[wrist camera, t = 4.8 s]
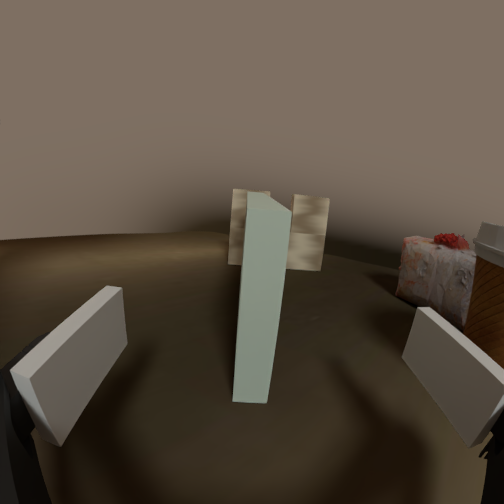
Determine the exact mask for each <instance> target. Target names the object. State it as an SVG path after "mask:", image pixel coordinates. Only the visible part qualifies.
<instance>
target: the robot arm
mask: <svg viewBox="0 0 504 504" xmlns="http://www.w3.org/2000/svg"><path fill="white" fill-rule="evenodd" d="M127 344H128V343H127V335H126V326H125V317H124V305H123V292H122V288H120V287H113V286H106V287H104V288H103V289H102V290H101V291H100V292H98V293H97V294H96V295H95V296H93V297H92V298H91V299H90V300H89V301H87V302H86V303H85V304H84V305H82V306H81V307H80V308H79V309H78V310H76V311H75V312H74V313H73V314H72V315H71V316H69V317H68V318H67V319H66V320H65V321H64V322H62V323H61V324H60V325H59V326H58V327H57V328H55V329H54V330H53V331H52V332H51V333H50V332H47V333H45V334H43V335H41V336H39V337H37V338H36V339H34V340H33V341H32V342H31V343H30V344H29V346H26V347H25V348H24V349H23V350H22V352H20V353H18V354H17V355H16V356H15V357H14V358H13V359H12V360H11V361H10V362H9V363H7V364H6V365H5V366H4V367H3V368H2V369H1V370H0V504H52V503H51V500H50V498H49V495H48V492H47V489H46V485H45V482H44V479H43V476H42V472H41V468H40V465H39V461H38V457H37V453H36V448H35V444H34V440H33V438H32V436H31V434H30V433H31V432H32V430H33V429H34V428H35V427H36V429H37V431H38V433H39V435H40V437H41V438H42V439H43V440H45V441H47V442H49V443H52V444H54V445H56V446H59V447H61V446H62V444H63V443H64V441H65V439H66V438H67V436H68V434H69V433H70V431H71V429H72V428H73V426H74V425H75V423H76V421H77V420H78V418H79V416H80V415H81V413H82V412H83V410H84V409H85V407H86V405H87V404H88V402H89V401H90V399H91V398H92V396H93V394H94V393H95V391H96V390H97V388H98V387H99V385H100V384H101V382H102V381H103V379H104V378H105V376H106V375H107V373H108V372H109V370H110V369H111V367H112V366H113V364H114V363H115V361H116V360H117V358H118V357H119V355H120V354H121V352H122V351H123V349H124V348H125V346H126V345H127ZM402 359H403V360H404V361H405V363H406V364H407V365H408V366H409V368H410V369H411V370H412V372H413V373H414V374H415V375H416V377H417V378H418V379H419V381H420V382H421V383H422V385H423V386H424V387H425V389H426V390H427V391H428V393H429V394H430V395H431V397H432V398H433V399H434V401H435V402H436V403H437V405H438V406H439V407H440V409H441V410H442V412H443V413H444V414H445V416H446V417H447V419H448V420H449V421H450V423H451V424H452V426H453V427H454V428H455V430H456V431H457V433H458V434H459V435H460V437H461V438H462V440H463V441H464V443H465V444H466V446H467V447H468V449H469V448H471V447H473V446H476V445H478V444H480V443H482V442H483V440H484V439H485V437H486V436H487V435H488V433H489V432H490V431H491V432H492V433H493V437H492V438H491V439H490V441H489V442H488V443H487V445H486V446H485V447H484V449H483V450H482V451H481V453H480V455H479V457H480V458H481V457H482V455H483V454H484V453H485V452H487V451H488V453H487V455H486V456H485V457H484V459H487V468H486V476H485V483H484V489H483V494H482V500H481V504H504V369H503V368H501V367H500V366H499V365H498V364H497V363H496V362H495V361H494V360H492V359H491V358H490V357H489V356H488V355H487V354H486V353H484V352H483V351H482V350H481V349H480V348H479V347H478V346H476V345H475V344H474V343H473V342H472V341H470V340H469V339H468V338H467V337H466V336H465V335H463V334H462V333H461V332H460V331H458V330H457V329H456V328H455V327H454V326H452V325H451V324H450V323H449V322H447V321H446V320H445V319H444V318H442V317H441V316H440V315H439V314H437V313H436V312H435V311H434V310H432V309H431V308H430V307H417V310H416V314H415V317H414V321H413V324H412V327H411V331H410V334H409V337H408V340H407V343H406V346H405V349H404V352H403V355H402Z"/></svg>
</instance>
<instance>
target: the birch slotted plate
mask: <svg viewBox="0 0 504 504" xmlns="http://www.w3.org/2000/svg"><path fill="white" fill-rule="evenodd" d="M247 191H249V192H261V193H265V194H266V195H268V196H269V197H270V192H267V191H255V190H243V189H233V200H232V213H231V227H230V240H229V255H228V264H231V265H242V252H243V239H244V227H245V215H246V202H247ZM329 201H330V200H329V199H328V198H323V197H315V196H306V195H297V194H292V200H291V210H290V211H291V212H292V217H291V226H290V235H289V244H288V253H287V262H286V269H298V270H312V271H320V270H321V264H322V257H323V249H324V242H325V235H326V226H327V218H328V209H329Z"/></svg>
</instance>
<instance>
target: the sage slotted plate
mask: <svg viewBox="0 0 504 504" xmlns="http://www.w3.org/2000/svg"><path fill="white" fill-rule="evenodd" d="M291 217H292V212H291V211H290V210H288V209H287V208H285V207H284V206H282V205H281V204H279V203H278V202H276V201H275V200H273V199H272V198H271V197H269V196H268V195H266V194H265V193H261V192H249V191H247V202H246V215H245V227H244V239H243V252H242V265H241V278H240V292H239V309H238V323H237V338H236V353H235V370H234V386H233V402H249V403H267V398H268V392H269V386H270V379H271V373H272V366H273V360H274V353H275V346H276V339H277V332H278V325H279V317H280V310H281V302H282V294H283V287H284V278H285V270H286V262H287V253H288V244H289V235H290V226H291Z"/></svg>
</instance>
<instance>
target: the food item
mask: <svg viewBox="0 0 504 504" xmlns="http://www.w3.org/2000/svg"><path fill="white" fill-rule="evenodd" d="M475 264H476V254H475V252H474V251H472V250H470V249H469V245H468V243H467V241H465V239H464V235H463V236H460V235H458V237H457V236H455V235H454V233H452V234H444V235H443V234H442V233H441V234H440V235H437V236H435V238H434V239H430V238H424V237H420V236H412V237H407V238H404V241H403V246H402V257H401V267H399V270H400V274H399V281H398V287H397V291H396V296H398V297H400V298H401V299H404V300H406V301H408V302H410V303H412V304H414V305H417V306H419V307H430V308H431V309H432V310H434V311H435V312H436V313H437V314H439V315H440V316H441V317H442V318H444V319H445V320H446V321H447V322H449V323H450V324H451V325H453V326H455V327H456V328H458V329H460V330H461V331H463V332H464V329H465V323H466V319H467V314H468V309H469V303H470V298H471V293H472V285H473V279H474V271H475Z"/></svg>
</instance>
